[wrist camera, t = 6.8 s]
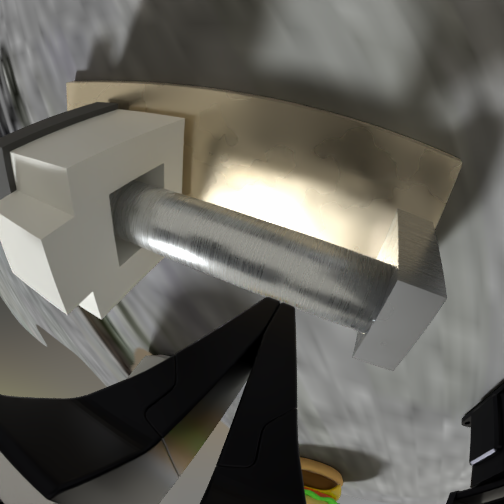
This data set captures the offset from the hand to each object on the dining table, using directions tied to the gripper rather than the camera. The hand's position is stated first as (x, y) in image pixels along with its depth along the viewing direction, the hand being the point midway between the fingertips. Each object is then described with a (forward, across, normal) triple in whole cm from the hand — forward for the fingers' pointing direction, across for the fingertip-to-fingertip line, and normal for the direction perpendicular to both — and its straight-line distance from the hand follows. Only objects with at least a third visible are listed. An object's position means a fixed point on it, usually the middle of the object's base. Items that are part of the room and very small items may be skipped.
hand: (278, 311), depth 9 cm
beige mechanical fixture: (+6, +6, 0) cm, 8 cm away
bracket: (+6, +8, 0) cm, 10 cm away
